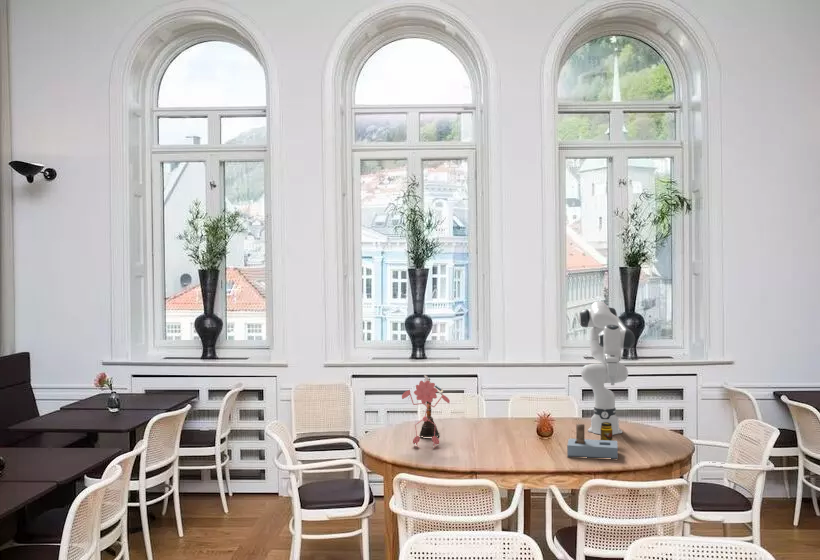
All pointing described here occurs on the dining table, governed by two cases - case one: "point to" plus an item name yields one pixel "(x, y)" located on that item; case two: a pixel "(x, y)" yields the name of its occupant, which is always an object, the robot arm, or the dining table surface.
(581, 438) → the walnut pin
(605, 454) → the bore block
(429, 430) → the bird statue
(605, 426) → the condiment
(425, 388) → the pink flower figurine
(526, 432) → the dining table surface
